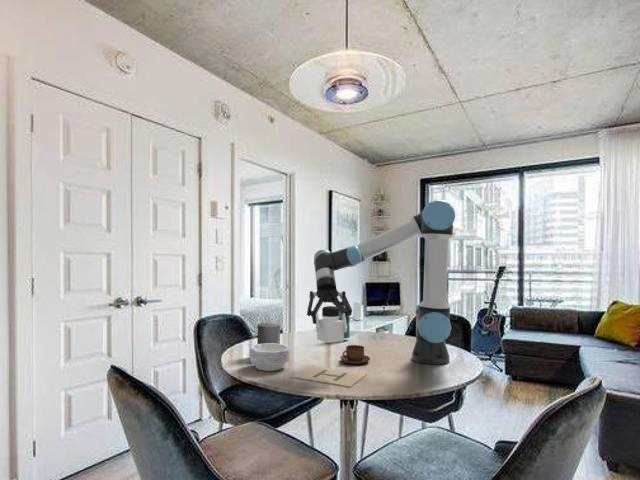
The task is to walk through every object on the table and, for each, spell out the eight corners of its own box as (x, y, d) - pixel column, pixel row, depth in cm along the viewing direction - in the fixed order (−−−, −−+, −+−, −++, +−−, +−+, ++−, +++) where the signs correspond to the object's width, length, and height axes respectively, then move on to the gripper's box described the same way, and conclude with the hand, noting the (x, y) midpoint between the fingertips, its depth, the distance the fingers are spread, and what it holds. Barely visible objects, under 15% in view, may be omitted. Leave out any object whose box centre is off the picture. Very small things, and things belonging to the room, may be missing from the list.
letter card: (367, 374, 142) (367, 373, 142) (350, 387, 128) (350, 386, 128) (313, 366, 152) (313, 365, 152) (292, 377, 138) (292, 376, 138)
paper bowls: (291, 373, 144) (291, 350, 144) (248, 374, 142) (249, 351, 142) (288, 362, 159) (288, 342, 159) (250, 363, 157) (250, 343, 157)
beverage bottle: (349, 338, 207) (349, 300, 208) (350, 341, 201) (350, 302, 202) (336, 338, 207) (337, 300, 208) (337, 341, 201) (338, 301, 202)
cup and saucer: (359, 368, 152) (359, 351, 152) (334, 362, 159) (334, 347, 160) (375, 361, 161) (375, 346, 162) (351, 357, 169) (351, 342, 169)
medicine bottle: (344, 341, 140) (344, 307, 140) (327, 343, 136) (327, 308, 137) (333, 337, 146) (333, 305, 146) (316, 339, 142) (317, 305, 143)
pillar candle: (252, 356, 168) (253, 321, 169) (271, 353, 174) (272, 318, 175) (265, 361, 161) (266, 323, 161) (284, 357, 167) (285, 321, 168)
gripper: (351, 288, 158) (360, 336, 142) (297, 288, 156) (300, 337, 139) (354, 275, 153) (364, 323, 137) (298, 275, 151) (301, 324, 134)
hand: (331, 330), depth 138 cm, fingers closed on medicine bottle, 9 cm apart
